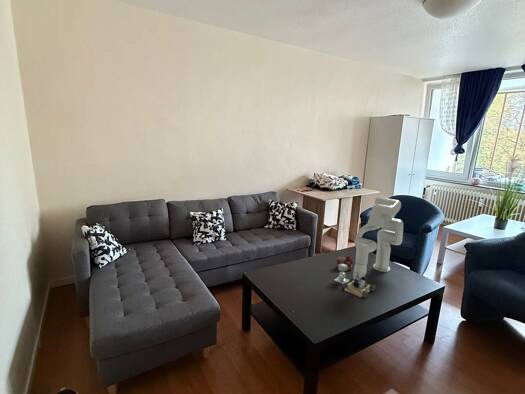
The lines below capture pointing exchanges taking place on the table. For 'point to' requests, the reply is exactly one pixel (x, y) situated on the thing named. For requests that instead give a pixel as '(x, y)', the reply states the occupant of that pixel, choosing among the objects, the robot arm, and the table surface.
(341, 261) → the toy fire truck
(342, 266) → the wheel hub
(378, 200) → the robot arm
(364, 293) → the birch chassis
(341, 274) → the grey square pedestal base
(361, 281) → the block
